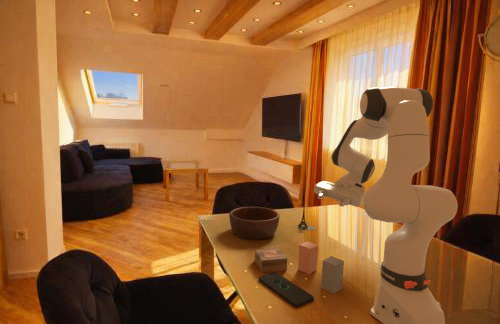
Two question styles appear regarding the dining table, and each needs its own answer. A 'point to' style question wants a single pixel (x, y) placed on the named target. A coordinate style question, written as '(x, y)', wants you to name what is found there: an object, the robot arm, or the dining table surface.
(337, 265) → the grey block
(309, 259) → the terracotta block
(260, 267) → the walnut base block
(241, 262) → the dining table surface
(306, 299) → the smart home device
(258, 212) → the wooden bowl
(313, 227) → the eiffel tower figurine
